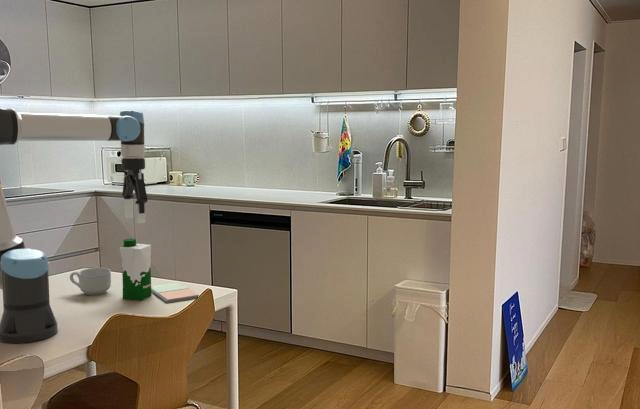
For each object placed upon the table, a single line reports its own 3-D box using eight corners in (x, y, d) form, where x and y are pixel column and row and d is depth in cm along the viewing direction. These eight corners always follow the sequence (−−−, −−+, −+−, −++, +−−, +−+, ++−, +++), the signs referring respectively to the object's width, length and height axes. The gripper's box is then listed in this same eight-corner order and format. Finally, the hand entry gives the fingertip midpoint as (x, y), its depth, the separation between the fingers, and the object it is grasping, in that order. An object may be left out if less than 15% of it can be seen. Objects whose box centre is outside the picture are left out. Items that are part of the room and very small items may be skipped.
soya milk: (131, 293, 212) (130, 237, 210) (155, 294, 211) (154, 238, 208) (118, 300, 204) (116, 241, 201) (143, 301, 202) (141, 243, 200)
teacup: (117, 290, 216) (116, 268, 215) (101, 298, 206) (100, 275, 205) (81, 287, 219) (80, 266, 218) (64, 296, 208) (63, 273, 207)
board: (166, 303, 201) (166, 299, 200) (147, 289, 217) (147, 286, 217) (200, 297, 207) (200, 294, 207) (179, 285, 224) (179, 282, 224)
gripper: (156, 159, 193) (158, 224, 196) (133, 155, 214) (135, 214, 216) (132, 159, 189) (135, 226, 191) (111, 156, 209) (113, 216, 212)
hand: (135, 220), depth 204 cm, fingers open, 13 cm apart
